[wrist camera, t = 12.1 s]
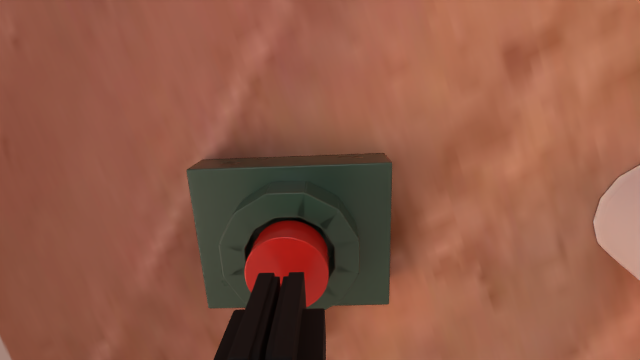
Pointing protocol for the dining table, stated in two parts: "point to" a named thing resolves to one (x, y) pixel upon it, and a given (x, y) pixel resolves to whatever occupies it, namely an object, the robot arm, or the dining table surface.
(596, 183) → the dining table surface
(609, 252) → the foam cup
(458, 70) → the dining table surface
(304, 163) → the box
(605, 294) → the dining table surface
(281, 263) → the button
